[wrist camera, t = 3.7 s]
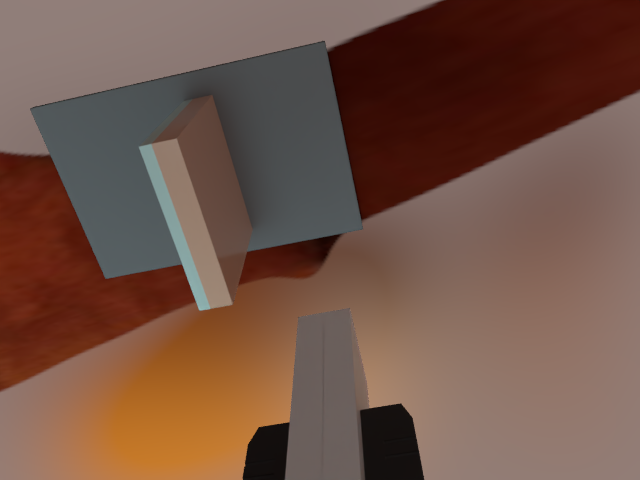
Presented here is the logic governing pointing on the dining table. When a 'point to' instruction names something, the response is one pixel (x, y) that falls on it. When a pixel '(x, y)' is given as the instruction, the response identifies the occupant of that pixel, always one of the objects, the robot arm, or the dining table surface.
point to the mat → (243, 143)
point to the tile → (200, 199)
